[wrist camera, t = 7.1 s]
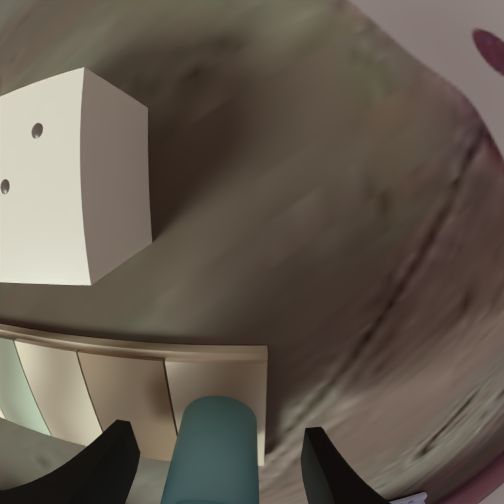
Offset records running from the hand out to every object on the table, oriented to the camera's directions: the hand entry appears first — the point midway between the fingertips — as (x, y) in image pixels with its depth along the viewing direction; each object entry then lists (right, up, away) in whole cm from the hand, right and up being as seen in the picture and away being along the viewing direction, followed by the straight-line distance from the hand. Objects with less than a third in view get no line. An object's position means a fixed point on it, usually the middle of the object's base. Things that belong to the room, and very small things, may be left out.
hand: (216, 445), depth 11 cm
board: (-10, 0, +2) cm, 10 cm away
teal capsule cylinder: (0, 0, +1) cm, 1 cm away
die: (-5, +10, 0) cm, 11 cm away
